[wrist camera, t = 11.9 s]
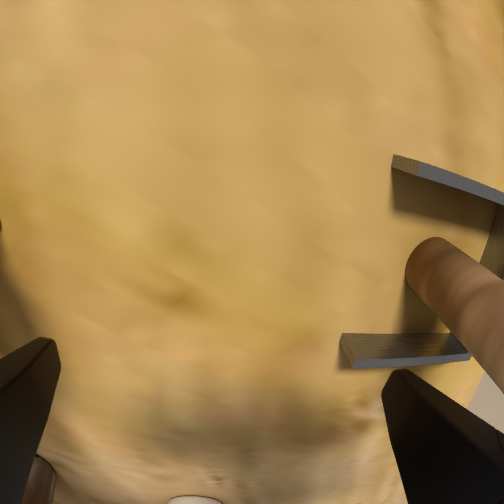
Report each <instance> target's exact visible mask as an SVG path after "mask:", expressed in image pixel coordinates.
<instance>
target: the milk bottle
mask: <svg viewBox="0 0 504 504" xmlns="http://www.w3.org/2000/svg"><path fill="white" fill-rule="evenodd" d="M168 504H222V503H221V502H219V501H217V500H215V499H211V498H207V497H200V496H181V497H176V498H173V499H171V500H170V501H169V502H168Z"/></svg>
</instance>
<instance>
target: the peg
mask: <svg viewBox="0 0 504 504" xmlns="http://www.w3.org/2000/svg"><path fill="white" fill-rule="evenodd" d="M405 278H406V282H407V284H408V286H409V287H410V288H411V289H412V290H413V291H414V292H415V293H416V294H417V295H418V296H419V297H420V299H421V300H422V301H423V302H424V303H425V304H426V305H427V306H428V307H429V308H430V309H431V310H432V311H433V312H434V313H435V314H436V316H437V317H438V318H439V319H440V320H441V321H442V322H443V323H444V324H445V325H446V326H447V328H448V329H449V330H450V331H451V332H452V333H453V334H454V335H455V336H456V338H457V339H458V340H459V341H460V342H461V343H462V344H463V346H464V347H465V348H466V349H467V350H468V351H469V352H470V354H471V355H472V356H473V357H474V358H475V359H476V361H477V362H478V363H479V364H480V365H481V367H482V368H483V369H484V370H485V371H486V373H487V374H488V375H489V376H490V377H491V378H492V380H493V381H494V382H495V384H496V385H497V386H498V387H499V388H500V390H501V391H502V392H503V394H504V281H503V280H502V279H500V278H499V277H498V276H496V275H495V274H494V273H492V272H491V271H490V270H488V269H487V268H485V267H484V266H483V265H481V264H480V263H478V262H477V261H476V260H474V259H473V258H471V257H470V256H468V255H467V254H466V253H464V252H463V251H461V250H460V249H458V248H457V247H455V246H454V245H452V244H451V243H449V242H448V241H446V240H445V239H443V238H440V237H432V238H429V239H426V240H425V241H423V242H421V243H420V244H419V245H418V246H417V247H416V248H415V249H414V251H413V252H412V253H411V255H410V257H409V259H408V261H407V265H406V269H405Z"/></svg>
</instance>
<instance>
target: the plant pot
mask: <svg viewBox="0 0 504 504" xmlns="http://www.w3.org/2000/svg"><path fill="white" fill-rule="evenodd" d="M55 483H56V474H55V472H54V470H53V469H52V467H51V466H50V465H49V464H48V463H47V462H46V461H45V460H44V459H43V458H41V457H36V456H35V458H34V461H33V465H32V468H31V471H30V475H29V478H28V482H27V485H26V489H25V492H24V496H23V500H22V504H52V501H53V494H54V488H55Z"/></svg>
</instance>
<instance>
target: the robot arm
mask: <svg viewBox="0 0 504 504" xmlns="http://www.w3.org/2000/svg"><path fill="white" fill-rule="evenodd" d="M60 371H61V362H60V358H59V354H58V350H57V345H56V342H55V341H54V340H53V339H50V338H46V337H38V338H37V339H35V340H33V341H31V342H29V343H28V344H26V345H24V346H22V347H21V348H19V349H17V350H15V351H13V352H12V353H10V354H8V355H6V356H5V357H3V358H1V359H0V504H22V500H23V496H24V492H25V489H26V485H27V482H28V478H29V475H30V471H31V468H32V465H33V461H34V458H35V455H36V452H37V449H38V446H39V443H40V440H41V437H42V434H43V432H44V429H45V426H46V423H47V420H48V416H49V413H50V409H51V405H52V401H53V397H54V393H55V389H56V386H57V382H58V379H59V375H60ZM381 397H382V403H383V407H384V412H385V417H386V422H387V427H388V432H389V437H390V441H391V445H392V449H393V452H394V455H395V459H396V462H397V465H398V469H399V472H400V476H401V480H402V483H403V487H404V490H405V494H406V498H407V502H408V504H504V434H503V433H501V432H500V431H499V430H496V429H495V428H494V427H493V426H491V425H490V424H488V423H486V422H485V421H484V420H482V419H481V418H479V417H477V416H476V415H474V414H473V413H472V412H470V411H469V410H467V409H466V408H464V407H463V406H461V405H460V404H458V403H457V402H455V401H454V400H452V399H451V398H449V397H448V396H446V395H445V394H443V393H442V392H440V391H439V390H437V389H436V388H434V387H433V386H431V385H430V384H428V383H427V382H426V381H424V380H423V379H421V378H420V377H418V376H417V375H415V374H414V373H412V372H411V371H409V370H408V369H396V370H394V371H393V372H392V373H391V375H390V377H389V378H388V380H387V382H386V384H385V386H384V388H383V390H382V394H381Z"/></svg>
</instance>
